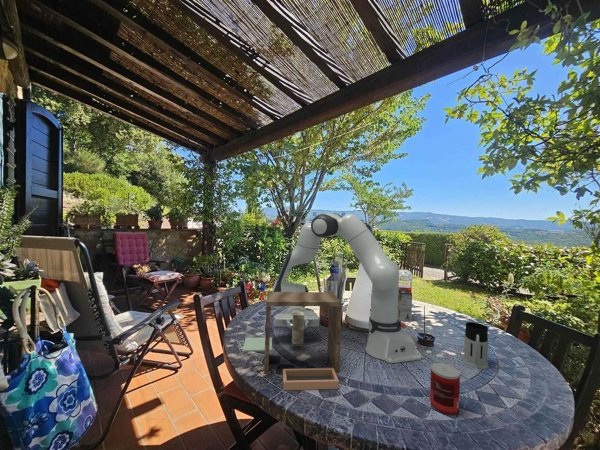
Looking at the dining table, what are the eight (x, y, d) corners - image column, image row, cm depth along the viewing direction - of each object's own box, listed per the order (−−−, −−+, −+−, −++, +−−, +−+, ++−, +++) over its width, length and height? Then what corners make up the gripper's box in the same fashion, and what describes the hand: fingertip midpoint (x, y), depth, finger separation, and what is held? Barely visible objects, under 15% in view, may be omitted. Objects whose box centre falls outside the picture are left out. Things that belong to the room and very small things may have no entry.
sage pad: (272, 338, 123) (272, 337, 123) (271, 351, 111) (271, 349, 111) (245, 339, 122) (245, 337, 122) (242, 351, 110) (242, 350, 110)
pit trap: (333, 375, 95) (333, 368, 95) (338, 388, 87) (338, 381, 87) (282, 376, 93) (282, 368, 93) (283, 390, 85) (283, 382, 85)
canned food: (448, 397, 84) (449, 362, 84) (465, 415, 76) (466, 377, 76) (424, 397, 84) (425, 362, 84) (438, 415, 76) (440, 376, 76)
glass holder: (487, 361, 108) (488, 324, 108) (491, 378, 96) (492, 336, 96) (462, 355, 113) (463, 320, 113) (463, 370, 101) (464, 330, 101)
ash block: (302, 339, 117) (303, 311, 117) (303, 343, 112) (304, 315, 112) (291, 339, 116) (292, 311, 116) (292, 343, 112) (293, 315, 112)
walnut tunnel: (331, 353, 110) (333, 292, 110) (339, 372, 96) (341, 302, 96) (265, 354, 108) (267, 291, 108) (264, 374, 94) (266, 301, 94)
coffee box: (397, 315, 161) (398, 289, 161) (408, 317, 160) (409, 290, 160) (399, 321, 152) (400, 293, 152) (411, 322, 151) (412, 294, 151)
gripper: (274, 309, 126) (274, 319, 112) (316, 309, 128) (321, 319, 114) (273, 322, 126) (273, 334, 112) (316, 322, 128) (321, 334, 114)
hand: (298, 326), depth 113 cm, fingers closed on ash block, 4 cm apart
